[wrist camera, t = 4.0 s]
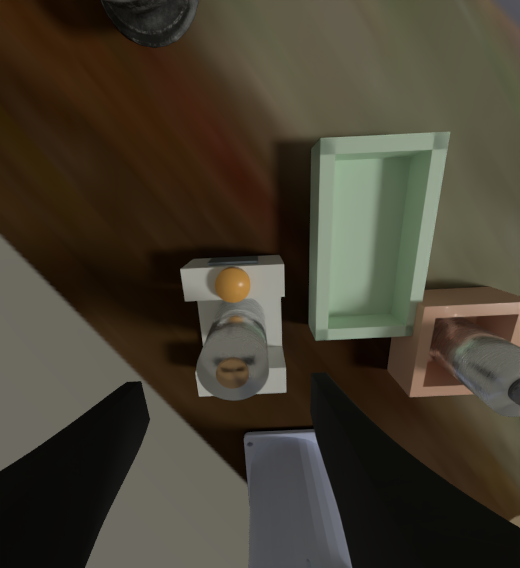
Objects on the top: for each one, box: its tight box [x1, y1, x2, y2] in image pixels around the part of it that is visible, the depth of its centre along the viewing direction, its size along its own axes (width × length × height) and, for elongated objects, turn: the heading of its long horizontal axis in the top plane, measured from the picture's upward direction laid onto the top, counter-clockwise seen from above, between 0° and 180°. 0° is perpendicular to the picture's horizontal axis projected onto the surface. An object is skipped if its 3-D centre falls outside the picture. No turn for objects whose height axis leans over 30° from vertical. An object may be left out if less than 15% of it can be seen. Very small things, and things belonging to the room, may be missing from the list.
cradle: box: [180, 255, 286, 397], centre depth 16 cm, size 9×6×4 cm, turn 3°
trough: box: [309, 132, 450, 340], centre depth 15 cm, size 12×7×2 cm, turn 3°
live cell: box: [196, 298, 269, 400], centre depth 15 cm, size 4×4×6 cm
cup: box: [387, 287, 520, 397], centre depth 17 cm, size 7×7×3 cm
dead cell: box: [429, 317, 520, 417], centre depth 15 cm, size 4×4×6 cm
